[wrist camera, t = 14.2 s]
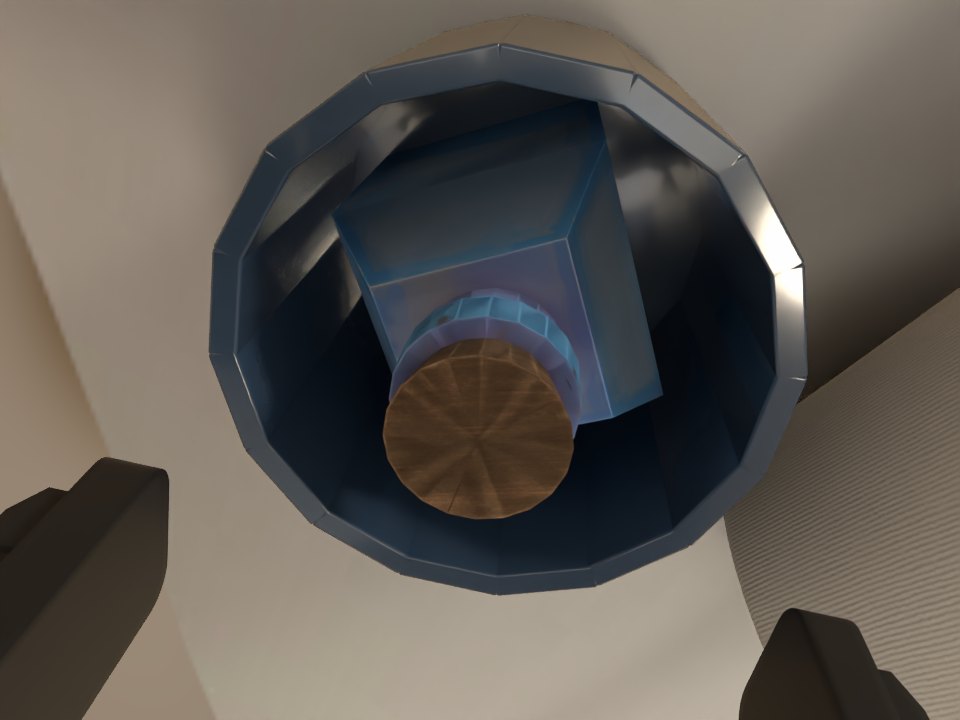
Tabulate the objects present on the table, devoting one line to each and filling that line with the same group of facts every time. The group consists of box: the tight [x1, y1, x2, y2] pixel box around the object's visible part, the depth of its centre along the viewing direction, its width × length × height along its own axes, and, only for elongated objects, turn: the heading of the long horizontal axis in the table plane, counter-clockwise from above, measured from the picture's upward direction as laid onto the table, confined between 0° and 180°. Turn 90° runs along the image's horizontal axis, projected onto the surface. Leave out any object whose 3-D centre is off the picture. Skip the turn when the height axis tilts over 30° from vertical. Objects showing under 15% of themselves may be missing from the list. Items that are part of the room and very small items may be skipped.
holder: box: [209, 15, 808, 596], centre depth 20 cm, size 12×12×10 cm
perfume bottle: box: [331, 99, 663, 519], centre depth 18 cm, size 6×6×12 cm
